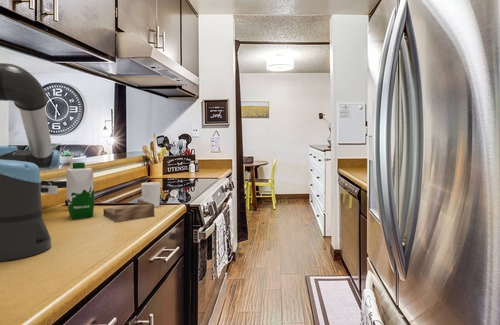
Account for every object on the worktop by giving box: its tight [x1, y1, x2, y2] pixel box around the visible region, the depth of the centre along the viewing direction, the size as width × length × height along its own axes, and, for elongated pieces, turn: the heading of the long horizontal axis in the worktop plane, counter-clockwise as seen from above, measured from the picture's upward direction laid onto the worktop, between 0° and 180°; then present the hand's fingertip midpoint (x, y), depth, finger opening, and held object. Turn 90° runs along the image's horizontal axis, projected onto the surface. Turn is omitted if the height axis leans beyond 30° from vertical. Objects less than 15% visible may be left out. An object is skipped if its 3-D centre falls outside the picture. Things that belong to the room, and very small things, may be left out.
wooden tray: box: [102, 198, 155, 223], centre depth 121 cm, size 14×14×4 cm
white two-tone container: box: [65, 162, 95, 221], centre depth 120 cm, size 9×9×20 cm
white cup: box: [140, 181, 161, 208], centre depth 139 cm, size 8×8×10 cm
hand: (71, 187), depth 121 cm, fingers open, 13 cm apart
